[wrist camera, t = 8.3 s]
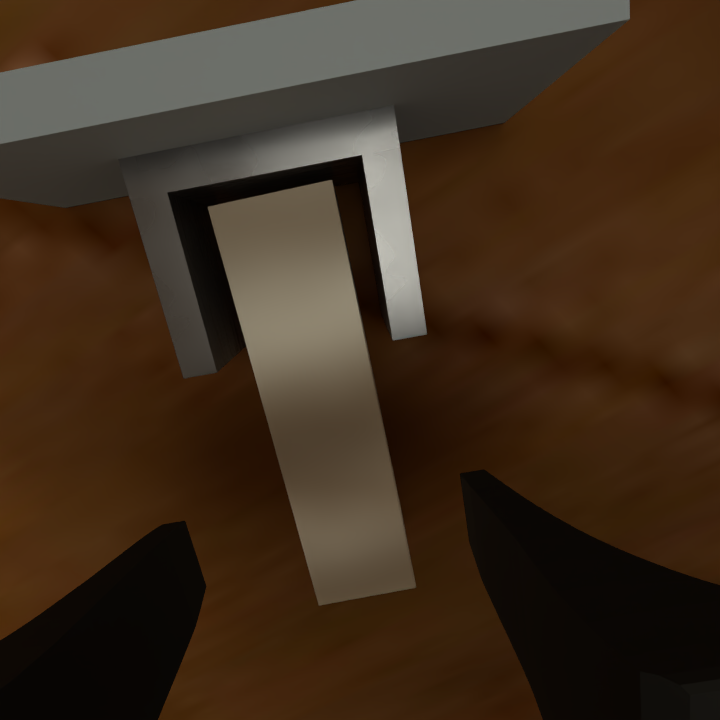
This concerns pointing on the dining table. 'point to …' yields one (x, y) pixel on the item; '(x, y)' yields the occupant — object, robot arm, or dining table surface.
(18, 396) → the dining table surface
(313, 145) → the bracket
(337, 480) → the rail
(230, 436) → the dining table surface
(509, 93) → the backboard
